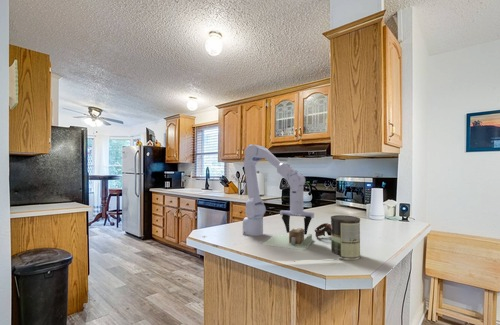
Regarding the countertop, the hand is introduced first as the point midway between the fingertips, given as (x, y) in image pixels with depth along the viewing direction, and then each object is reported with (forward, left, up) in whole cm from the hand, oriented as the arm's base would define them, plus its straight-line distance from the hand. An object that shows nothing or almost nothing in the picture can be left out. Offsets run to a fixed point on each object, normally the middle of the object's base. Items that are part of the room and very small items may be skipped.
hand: (296, 233), depth 107 cm
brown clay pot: (+11, +15, -5) cm, 19 cm away
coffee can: (+20, -7, -5) cm, 22 cm away
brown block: (0, 0, -3) cm, 3 cm away
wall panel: (-3, -2, -5) cm, 6 cm away
